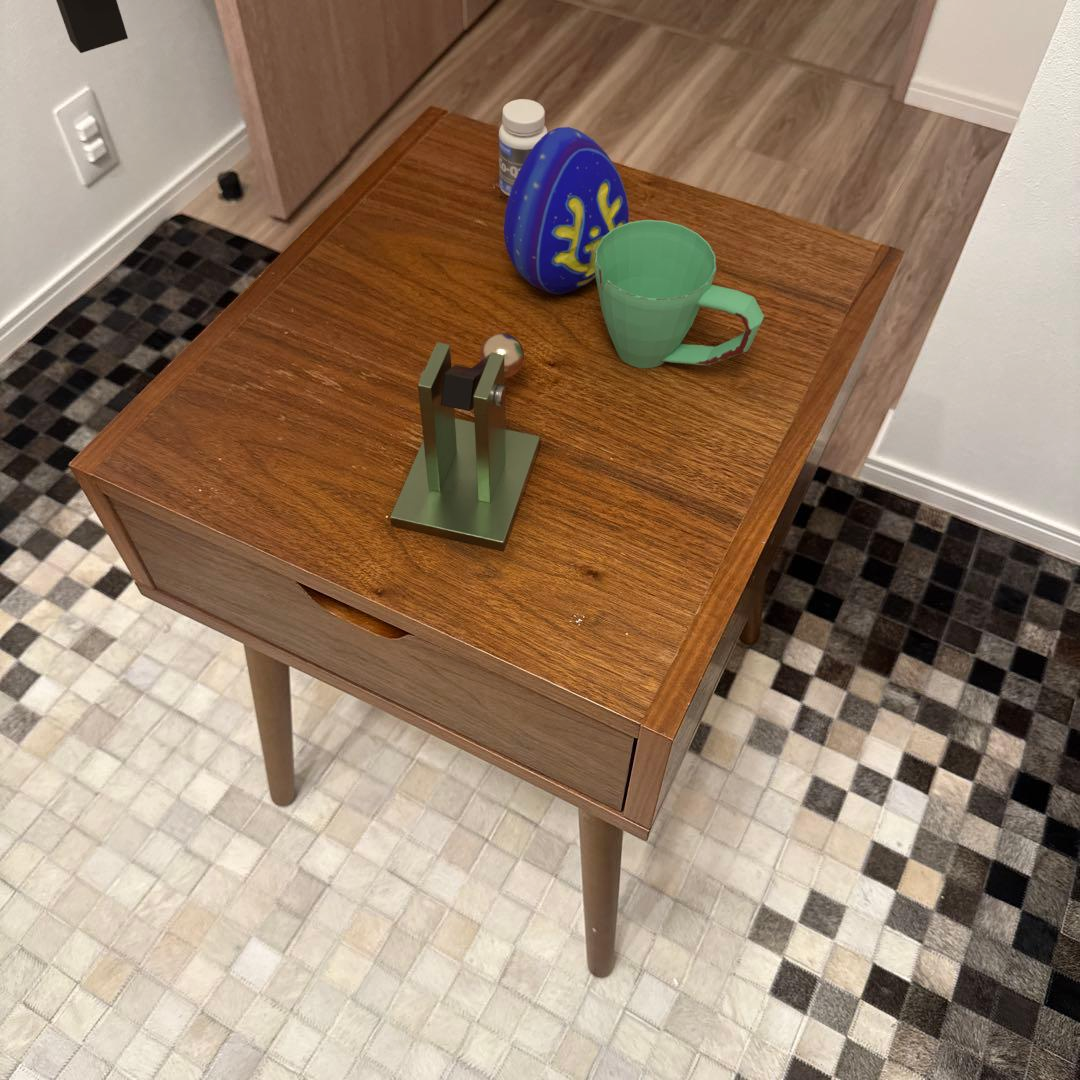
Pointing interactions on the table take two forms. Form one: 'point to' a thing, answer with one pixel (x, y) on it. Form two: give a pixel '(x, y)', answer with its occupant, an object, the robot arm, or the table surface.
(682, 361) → the mug
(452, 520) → the bracket
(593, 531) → the table surface
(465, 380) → the lever
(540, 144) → the ornament
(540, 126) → the pill bottle
